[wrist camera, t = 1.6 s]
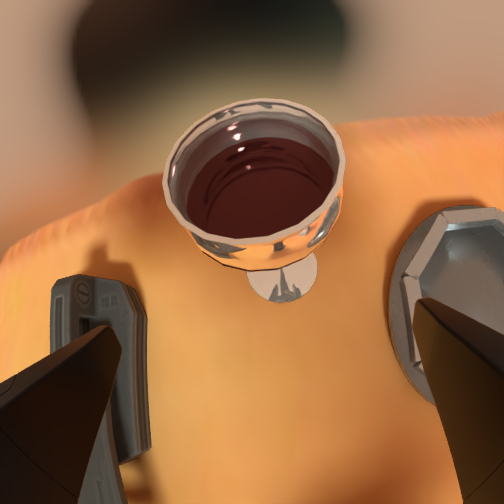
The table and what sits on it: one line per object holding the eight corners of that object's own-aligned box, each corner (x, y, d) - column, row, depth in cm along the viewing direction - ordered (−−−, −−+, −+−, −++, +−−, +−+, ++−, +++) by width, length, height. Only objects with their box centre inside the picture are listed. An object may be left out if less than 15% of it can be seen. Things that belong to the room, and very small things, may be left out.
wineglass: (327, 319, 19) (349, 254, 8) (227, 310, 21) (139, 242, 10) (332, 226, 22) (342, 97, 11) (241, 222, 23) (186, 103, 12)
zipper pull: (65, 570, 8) (14, 271, 18) (108, 546, 14) (66, 294, 24) (164, 604, 7) (96, 243, 17) (197, 563, 13) (145, 276, 23)
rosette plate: (563, 282, 16) (576, 275, 14) (489, 449, 13) (503, 454, 11) (444, 176, 22) (452, 162, 20) (340, 332, 19) (344, 329, 17)
